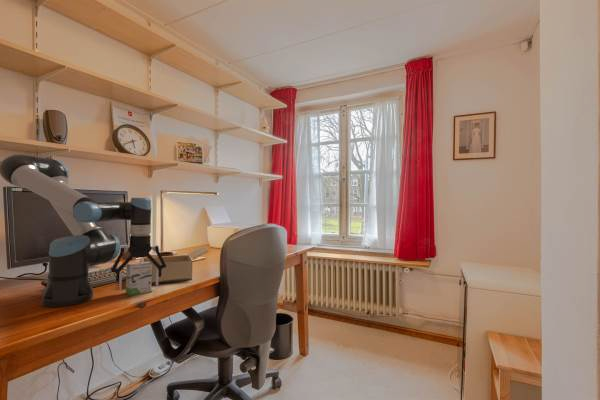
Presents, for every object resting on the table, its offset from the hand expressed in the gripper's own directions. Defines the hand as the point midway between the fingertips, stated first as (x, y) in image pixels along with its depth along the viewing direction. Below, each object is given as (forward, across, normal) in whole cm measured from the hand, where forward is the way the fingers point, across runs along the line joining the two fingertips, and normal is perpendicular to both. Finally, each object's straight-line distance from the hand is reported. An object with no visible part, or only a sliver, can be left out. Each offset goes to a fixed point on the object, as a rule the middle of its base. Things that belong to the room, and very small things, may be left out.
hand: (139, 286), depth 120 cm
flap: (-7, +22, +18) cm, 30 cm away
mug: (+2, +14, +33) cm, 36 cm away
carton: (+2, +10, +18) cm, 21 cm away
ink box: (+2, 0, 0) cm, 2 cm away
